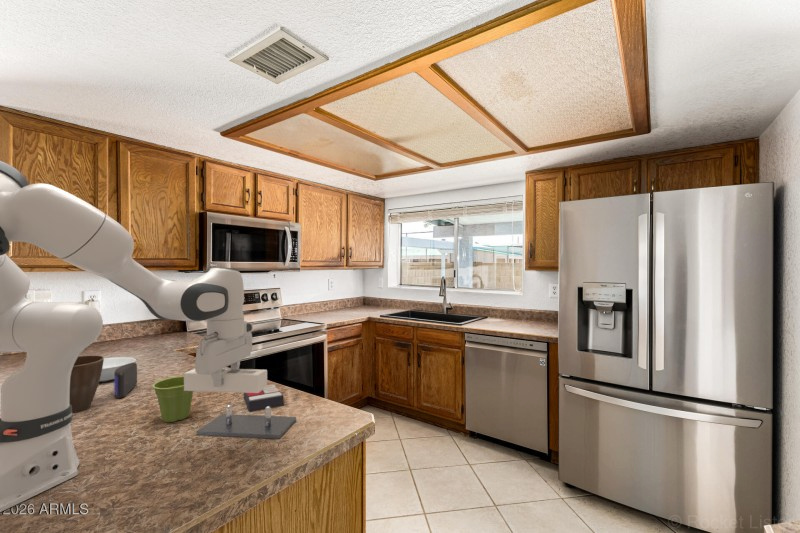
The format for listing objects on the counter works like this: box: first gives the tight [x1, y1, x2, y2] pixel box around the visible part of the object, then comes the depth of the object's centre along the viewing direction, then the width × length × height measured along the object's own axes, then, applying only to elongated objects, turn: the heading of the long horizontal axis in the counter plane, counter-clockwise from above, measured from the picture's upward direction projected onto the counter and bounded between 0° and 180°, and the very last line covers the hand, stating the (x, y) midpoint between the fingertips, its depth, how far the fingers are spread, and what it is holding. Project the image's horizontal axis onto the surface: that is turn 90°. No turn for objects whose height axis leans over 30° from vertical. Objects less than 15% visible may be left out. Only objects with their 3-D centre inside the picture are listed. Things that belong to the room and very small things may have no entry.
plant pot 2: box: [151, 375, 194, 423], centre depth 114 cm, size 12×12×11 cm
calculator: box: [243, 384, 285, 413], centre depth 128 cm, size 11×4×15 cm
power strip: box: [183, 368, 268, 394], centre depth 97 cm, size 5×20×5 cm, turn 84°
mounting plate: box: [195, 404, 297, 440], centre depth 107 cm, size 12×24×6 cm, turn 84°
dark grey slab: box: [113, 362, 138, 399], centre depth 138 cm, size 16×5×9 cm, turn 21°
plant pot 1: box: [70, 355, 105, 414], centre depth 121 cm, size 15×15×16 cm
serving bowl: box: [99, 356, 137, 383], centre depth 154 cm, size 21×21×7 cm
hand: (225, 382), depth 97 cm, fingers closed on power strip, 5 cm apart
